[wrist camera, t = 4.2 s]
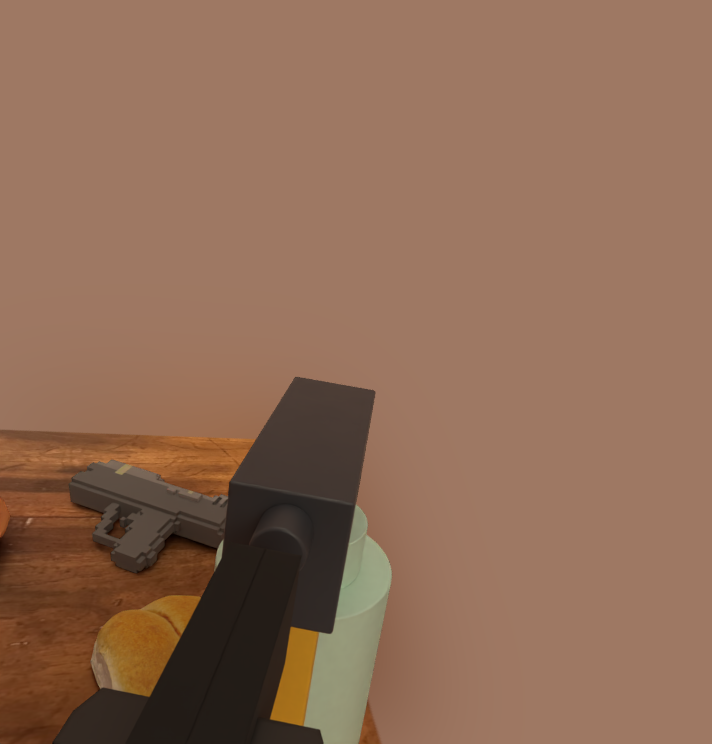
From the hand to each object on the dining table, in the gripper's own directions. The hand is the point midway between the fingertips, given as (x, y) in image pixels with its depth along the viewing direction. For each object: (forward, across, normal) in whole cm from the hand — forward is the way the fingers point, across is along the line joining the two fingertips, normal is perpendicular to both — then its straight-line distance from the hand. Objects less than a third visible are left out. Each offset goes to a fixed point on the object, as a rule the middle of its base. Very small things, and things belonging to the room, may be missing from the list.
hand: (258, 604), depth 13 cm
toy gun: (+36, -17, -24) cm, 46 cm away
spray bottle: (+8, 0, -24) cm, 25 cm away
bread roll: (+22, -9, -24) cm, 34 cm away
